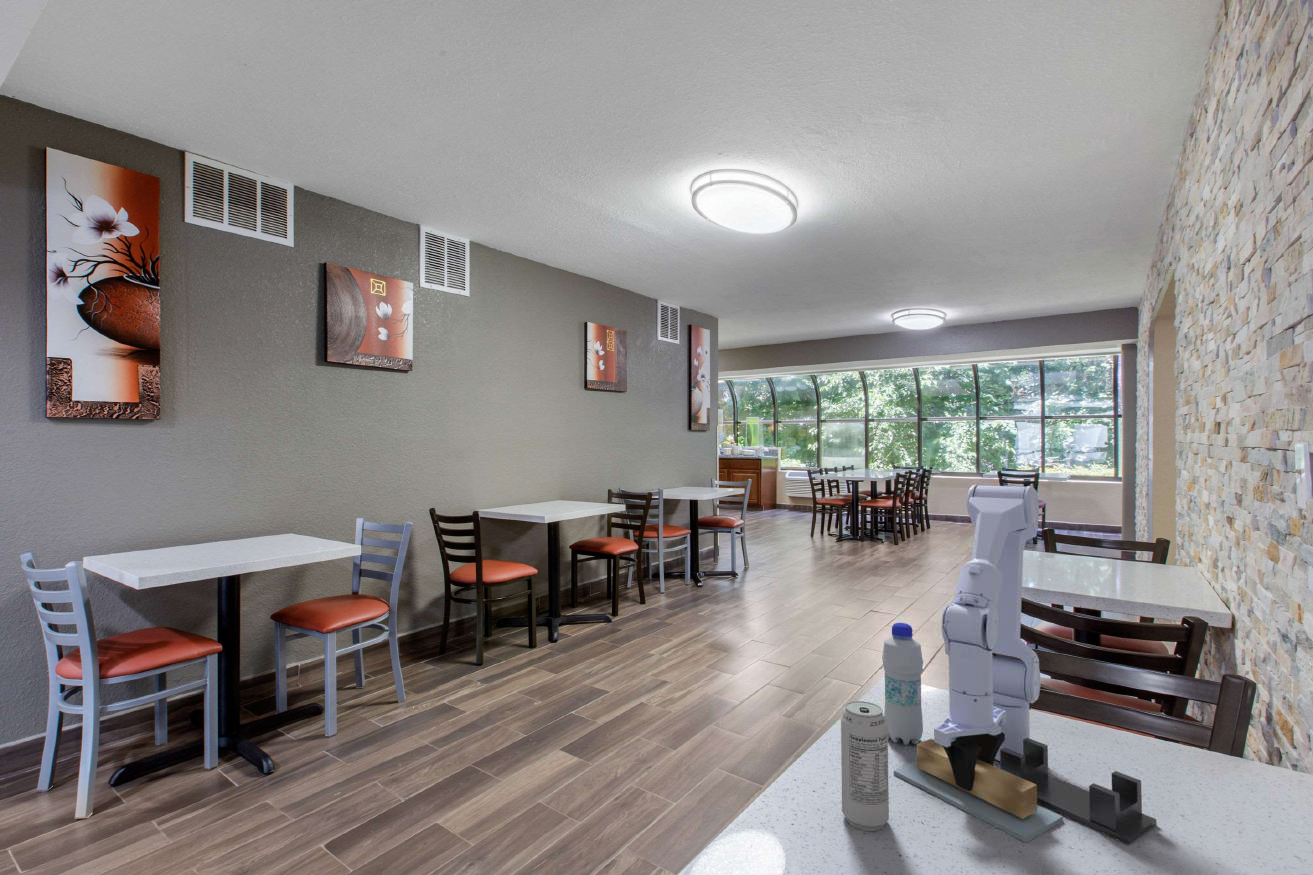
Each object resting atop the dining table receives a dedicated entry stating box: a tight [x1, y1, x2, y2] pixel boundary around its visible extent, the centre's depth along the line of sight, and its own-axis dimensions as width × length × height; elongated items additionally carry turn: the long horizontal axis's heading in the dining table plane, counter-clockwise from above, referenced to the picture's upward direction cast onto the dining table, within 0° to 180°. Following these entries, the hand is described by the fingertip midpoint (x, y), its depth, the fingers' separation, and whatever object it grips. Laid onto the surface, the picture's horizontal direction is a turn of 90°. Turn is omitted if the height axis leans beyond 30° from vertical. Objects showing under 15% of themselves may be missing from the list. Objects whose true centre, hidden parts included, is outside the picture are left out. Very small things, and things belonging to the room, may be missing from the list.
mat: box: [893, 760, 1064, 843], centre depth 91 cm, size 20×9×1 cm, turn 31°
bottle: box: [881, 622, 924, 746], centre depth 109 cm, size 7×7×20 cm
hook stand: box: [999, 738, 1157, 845], centre depth 89 cm, size 18×8×5 cm, turn 31°
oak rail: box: [916, 738, 1038, 819], centre depth 91 cm, size 16×4×4 cm, turn 31°
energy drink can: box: [840, 700, 890, 832], centre depth 85 cm, size 6×6×15 cm
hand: (972, 783), depth 91 cm, fingers closed on oak rail, 3 cm apart
